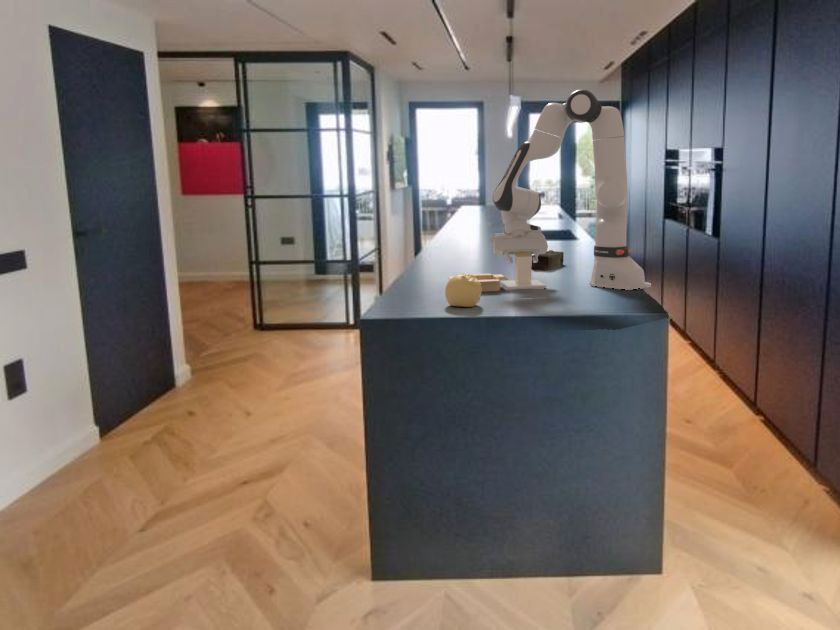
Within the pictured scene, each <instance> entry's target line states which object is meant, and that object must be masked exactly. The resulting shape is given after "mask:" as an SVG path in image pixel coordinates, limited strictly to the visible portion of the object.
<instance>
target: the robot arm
mask: <svg viewBox="0 0 840 630" xmlns="http://www.w3.org/2000/svg"><path fill="white" fill-rule="evenodd" d="M573 123H574V124H575V123H581V124H582V123H588V124H589V126H590V128H591V133H592V134H591V135H592V147H593V148H592V149H593V150H592V151H593V160H594V161H593V162H594V165H593V166H594V184H595V198H596V217H595V236H594V237H595V241H594V244H595V245H594V246H593V257H594V259H593V260H594V261H593V268H592V273H591V278H590V280H589V284H590V286H591V287H595V286H597V287H598V288H603V287H605V289H612V288H614V289H613V290H621V289H625V290H624V291H634V290H633V289H637V290H642V289H647V288H650V287H651V286H652V283H651V282H647V281H646V280H645V277H646V276H645V271H644V269H643V268H642V267H641V266H640V265H639V264H638V263H637V261H635V260H633V258H632V257H631V254H630V253H632V252H633V251H632V250H633V249H632V248H628V245H627V226H628V198H629V197H628V196H629V194H628V193H629V190H628V174H627V173H628V172H627V158H626V145H625V144H626V143H625V142H626V141H625V132H624V130H625V129H624V123H623V119H622V115H621V112H620V110H619V109H618V108H617V107H614V106H609V105H607V106H604V105H603V106H602V104H601V102H599V100H598V98H597V96H596V95H595V94H594V92H592V91H590V90H588V89H584V88H583V89H582V88H580V89H576V90H574V91H573V92H571V93H570V94H569V96H568V97H567V99H566V102H565V103H560V102H549V103H548V104H546V105H545V106H544V107H543V109H542V111H541V112H540V114H539V117H538V119H537V122H536V124H535V127H534V130H533V132H532V134H531V136H530V137H529V138H528V139H527V141H525V142H522V143H521V144H520V145H519V147H518V148H517V150H516V151H515V153H514V156H513V157H512V159H511V161H510V163H509V165H508V167H507V169H506V171H505V173H504V175H503V176H502V179H501V181H500V182H499V183H498V185H497V186H496V188H495V190H494V191H493V194H492V201H493V204H494V206H495V207H496V209H497V210H498V211H501V218H502V219H501V220H502V223H503V225H504V226H503V229H504V232H501V233H494V234H492V235H490V241H491V243H492V248H493V249H492V250H493V251H492V253H493V254H494V255H495V256H496V257H497V256H503V257H504V258H505V260H506V261H507V264H508V265H511V264H513V262H514V260H513V257H510V256H515V253H530V254H532V255H535V256H534V257H533V263H537V262H538V255H539V254H545V253H546V252H547V251H548V247H549V245H548V241H547V239H546V236H545V235H544V234H543V232H542V228H541V226H538V225H534V224H530V223H528V222H527V221H528V220H531V219H532V218H533V217H534V216H536V215H537V214H538V213H539V212H540V210H541V207H542V199H541V196H540V193H539V191H535V190H533V189H529V188H524V187H520V186H517V185H516V183H517V182H518V180H519V177H520V175H521V173H522V172H523V169H524V168H525V167H526V165H528V163H530V162H533V161H536V160H544V159H547V158H550V157H553V156H554V155H556V154H557V153H558V152H559V150H560V148H561V146H562V143H563V141H564V138H565V134H566V132H567V129H568V127H569V126H570V124H573ZM638 288H640V289H638Z"/></svg>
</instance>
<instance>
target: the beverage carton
mask: <svg viewBox="0 0 840 630" xmlns="http://www.w3.org/2000/svg"><path fill="white" fill-rule="evenodd" d="M564 254H565V252H563V251H555V250H552V249H551V250H547V251H546V253H545V254H539V255H538V262H537V263H533V257H534V256H535V255H534V254H532V256H531V270H535V271H546V270H547V271H550V270H552V269H555V267H556V268H558V267H560V266H563V265H564Z"/></svg>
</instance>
